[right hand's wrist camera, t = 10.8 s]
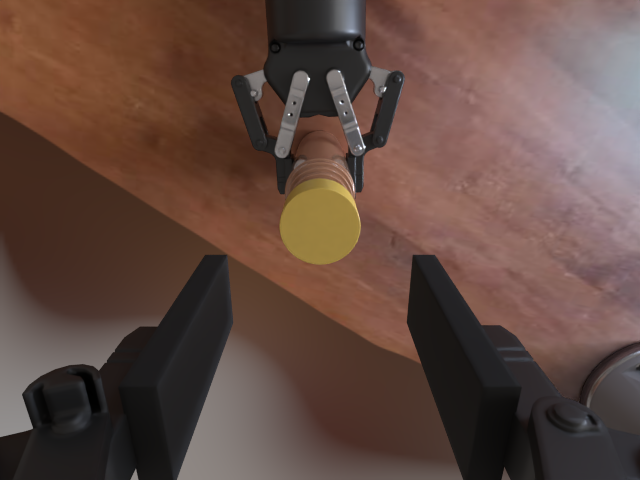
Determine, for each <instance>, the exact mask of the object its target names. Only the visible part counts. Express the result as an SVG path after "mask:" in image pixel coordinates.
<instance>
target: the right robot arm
mask: <svg viewBox="0 0 640 480" xmlns="http://www.w3.org/2000/svg"><path fill="white" fill-rule="evenodd" d="M232 324H233V315H232V304H231V293H230V282H229V270H228V259H227V255H205V256H204V258H203V259H202V261H201V262H200V264H199V265H198V267H197V268H196V270H195V271H194V273H193V274H192V276H191V277H190V279H189V280H188V282H187V283H186V285H185V286H184V288H183V289H182V291H181V292H180V294H179V295H178V297H177V298H176V300H175V301H174V303H173V305H172V306H171V307H170V309H169V311H168V312H167V314H166V315H165V317H164V318H163V320H162V321H161V323H160V324H159V326H158V327H139V328H137V329H136V330H135V331H133V332H132V333H130V334H129V335H127V336H126V337H124V339H123V340H122V341H121V343H120V344H119V345H118V347H117V348H116V349H115V352H113V353H112V354H111V356H110V357H109V358H108V360H107V363H105V364H104V365H103V366H102V368H101V369H100V370H99V371H98V370H97V369H96V368H95V367H93V366H89V365H84V364H80V365H69V366H65V367H62V368H58V369H55V370H53V371H51V372H49V373H47V374H44V375H42V376H40V377H39V378H38V379H36V380H35V381H34V382H32V383H31V384H30V385H29V386H28V387H27V388H26V390H25V391H24V392H23V394H22V396H23V399H24V402H25V405H26V408H27V411H28V414H29V417H30V420H31V423H32V426H33V429H31V430H28V431H25V432H20V433H16V434H12V435H8V436H3V437H0V480H130V479H131V477H132V475H133V473H134V471H135V469H136V470H137V475H138V479H139V480H177V477H178V475H179V472H180V469H181V466H182V463H183V461H184V458H185V455H186V452H187V449H188V447H189V444H190V441H191V438H192V436H193V433H194V430H195V427H196V425H197V422H198V419H199V416H200V413H201V411H202V408H203V405H204V402H205V400H206V397H207V394H208V391H209V388H210V386H211V383H212V380H213V377H214V374H215V372H216V369H217V366H218V363H219V360H220V358H221V355H222V352H223V349H224V347H225V344H226V341H227V338H228V335H229V333H230V330H231V327H232ZM407 324H408V327H409V330H410V333H411V336H412V338H413V341H414V344H415V347H416V349H417V352H418V355H419V358H420V361H421V363H422V366H423V369H424V372H425V374H426V377H427V380H428V383H429V386H430V388H431V391H432V394H433V397H434V400H435V402H436V405H437V408H438V411H439V413H440V416H441V419H442V422H443V424H444V427H445V430H446V433H447V436H448V438H449V441H450V444H451V447H452V449H453V452H454V455H455V458H456V461H457V463H458V466H459V469H460V472H461V475H462V477H463V480H501V479H502V474H503V470H504V467H505V469H506V471H507V473H508V475H509V477H510V479H511V480H640V343H637V344H634V345H631V346H628V347H626V348H623V349H621V350H619V351H617V352H616V353H614V354H612V355H611V356H609V357H608V358H606V359H605V360H604V361H603V362H601V363H600V364H599V365H598V366H597V367H596V368H595V369H594V370H593V372H592V373H591V374H590V376H589V377H588V379H587V380H586V382H585V384H584V387H583V389H582V393H581V402H580V403H581V404H580V403H578V402H577V401H574V400H571V399H568V398H564V397H562V396H561V394H560V393H559V392H558V390H557V389H556V388H555V387H554V385H553V384H552V383H551V381H550V380H549V379H548V377H547V376H546V375H545V374H544V372H543V371H542V370H541V368H540V367H539V366H538V364H537V363H536V362H534V361H533V358H532V357H531V355H530V354H529V353H528V351H525V348H524V346H523V345H522V344H521V342H520V341H519V340H518V338H517V337H516V336H515V335H513V334H512V333H510V332H509V331H508V330H506V329H505V328H503V327H502V326H500V325H481V324H480V323H479V321H478V320H477V318H476V317H475V315H474V314H473V312H472V311H471V309H470V307H469V306H468V304H467V303H466V301H465V300H464V298H463V297H462V295H461V294H460V292H459V291H458V289H457V288H456V286H455V285H454V283H453V282H452V280H451V279H450V277H449V276H448V274H447V273H446V271H445V270H444V268H443V267H442V265H441V264H440V262H439V261H438V259H437V258H436V256H435V255H413V259H412V270H411V282H410V293H409V304H408V315H407Z"/></svg>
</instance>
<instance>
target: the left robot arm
mask: <svg viewBox="0 0 640 480" xmlns="http://www.w3.org/2000/svg"><path fill="white" fill-rule="evenodd" d="M265 2H266V17H267V32H268V47H269V51H268V57H267V60H266V62H265V64H264V69H263V70H260V71H257V72H254V73H251V74H248V75H245V76H242V75H236V76H234V77H233V78H232V80H231V85H232V88H233V91H234V94H235V97H236V100H237V102H238V105H239V108H240V111H241V114H242V117H243V119H244V122H245V125H246V128H247V131H248V134H249V136H250V139H251V142H252V145H253V147H254V148H255V149H256V150H258V151H265V152H268V153H271V154H272V155H273V156H274V157H275V159H276V168H277V183H278V190H279V192H280V194H285V186H286V182H287V179H288V176H289V173H290V170H291V167H292V164H293V161H294V154H291V146H292V143H293V139H294V136H295V132H296V129H297V125H298V122H299V118H302V117H312V116H315V115H318V114H320V115H324V116H328V117H336V116H338V117H339V120H340V123H341V126H342V128H343V131H344V134H345V137H346V140H347V143H348V153H346V161H347V164H348V167H349V170H350V173H351V176H352V179H353V182H354V186H355V197H356V192H361V191H362V188H363V165H364V155H365V154H366V153H367V152H368V151H369V150H372V149H374V148H377V147H378V148H381V147H383V146H384V145H385V144H386V142H387V139H388V135H389V132H390V129H391V125H392V122H393V118H394V115H395V111H396V108H397V105H398V101H399V98H400V94H401V91H402V87H403V84H404V80H405V77H404V74H403V73H402V72H401V71H388V70H385V69H381V68H377V67H373V66H372V65H371V62H370V60H369V58H368V56H367V53H366V47H365V24H366V0H265ZM368 79H370V80H371V81H372V82H373V92H374V94H375V95H376V96H378V97H379V101H378V104H377V108H376V112H375V115H374V119H373V123H372V126H371V130H370V132H368V133H366V134H363V135H361V133H360V130H359V127H358V123H357V120H356V117H355V114H354V111H353V108H352V105H351V104H352V102H353V101H354V99H355V98H356V96H357V95H358V93H359V92H360V90H361V89H362V87H363V86H364V84H365V83H366V81H367V80H368ZM266 82H268V83H269V85H270V86H271V87H272V89H273V90H274V91H275V92H276V94H277V95H278V96H279V98H280V99H281V100H282V102H283V103H284V104H285V106H286V107H285V111H284V114H283V118H282V122H281V126H280V131H279V135H278V138H277V137H274V136H271V135H269V133H268V130H267V127H266V124H265V121H264V118H263V115H262V112H261V109H260V106H259V103H258V100H260V99H261V98H262V97H263V86H264V84H265V83H266Z"/></svg>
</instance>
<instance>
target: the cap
mask: <svg viewBox="0 0 640 480" xmlns="http://www.w3.org/2000/svg"><path fill="white" fill-rule="evenodd" d="M280 234H281V238H282V240H283V243H284V244H285V246H286V248H287V249H288V250H289V251H290V252H291V253H292V254H293V255H294V256H295V257H297V258H298V259H300V260H302V261H305V262H307V263H311V264H329V263H332V262H335V261H338V260H340V259H341V258H343V257H345V256H346V255H347V254H348V253H349V252H350V251H351V250H352V249H353V247H354V246H355V244H356V242H357V240H358V238H359V234H360V219H359V215H358V211H357V208H356V204H355V201H354V199H353V197H352V196H351V194H350V193H349V191H348V190H347V189H346V188H345V187H343V186H342V185H341V184H339V183H337V182H335V181H332V180H329V179H322V178H318V179H311V180H308V181H305V182H303V183H301V184H299V185H298V186H296V187H295V188H294V189H293V190H292V191H291V192H290V194H289V195H288V197H287V199H286V201H285V204H284V208H283V211H282V214H281V218H280Z"/></svg>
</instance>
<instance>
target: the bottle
mask: <svg viewBox="0 0 640 480" xmlns="http://www.w3.org/2000/svg"><path fill="white" fill-rule="evenodd" d="M318 178H322V179H329V180H332V181H335V182H337V183H339V184H341V185H342V186H343V187H345V188H346V189H347V190H348V191H349V193H350V194H351V196H352V197H353V199H354V200H355V186H354V182H353V179H352V176H351V173H350V170H349V167H348V164H347V161H346V158H345V155H344V152H343V149H342V146H341V144H340V142H339V140H338V139H337V138H336V137H335V136H334V135H332V134H331V133H329V132H326V131H314V132H311V133H309V134H308V135H306V136H305V137H304V138H303V139H302V140H301V142H300V144H299V146H298V149H297V152H296V155H295V158H294V161H293V164H292V167H291V170H290V173H289V176H288V179H287V182H286V186H285V200H286V199H287V197H288V195H289V194H290V192H291V191H292V190H293V189H294V188H295V187H296V186H298V185H299V184H301V183H303V182H305V181H308V180H311V179H318Z"/></svg>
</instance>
